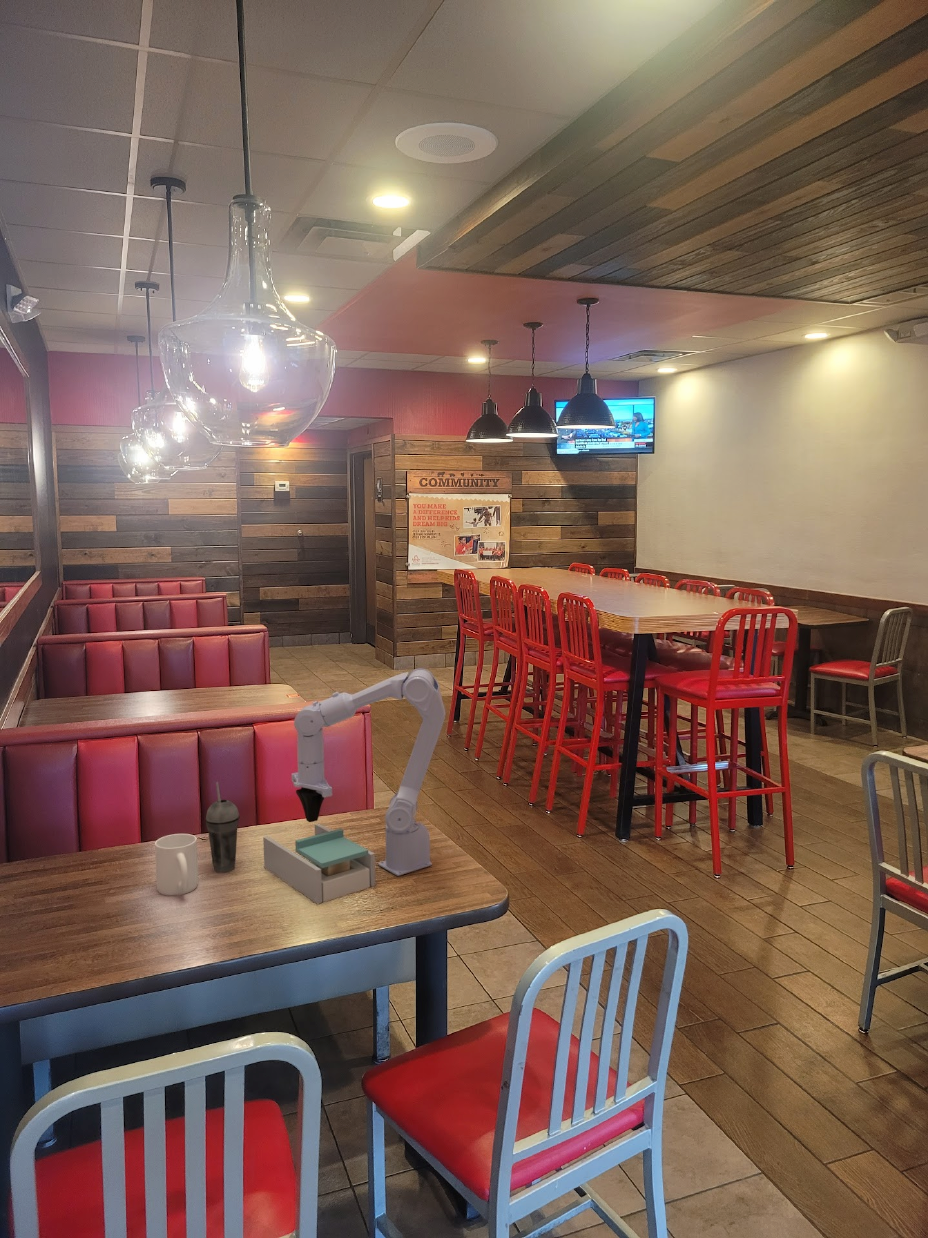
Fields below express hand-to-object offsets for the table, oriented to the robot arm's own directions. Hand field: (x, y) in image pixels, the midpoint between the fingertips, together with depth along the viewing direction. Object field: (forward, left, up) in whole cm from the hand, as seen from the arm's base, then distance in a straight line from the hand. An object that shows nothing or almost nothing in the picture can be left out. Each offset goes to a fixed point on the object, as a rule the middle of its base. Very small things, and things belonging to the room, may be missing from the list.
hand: (312, 820), depth 191 cm
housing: (+2, +6, -10) cm, 12 cm away
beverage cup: (+16, -11, -11) cm, 22 cm away
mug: (+28, -6, -11) cm, 31 cm away
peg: (+2, +12, -10) cm, 16 cm away
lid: (+2, +12, -3) cm, 12 cm away
